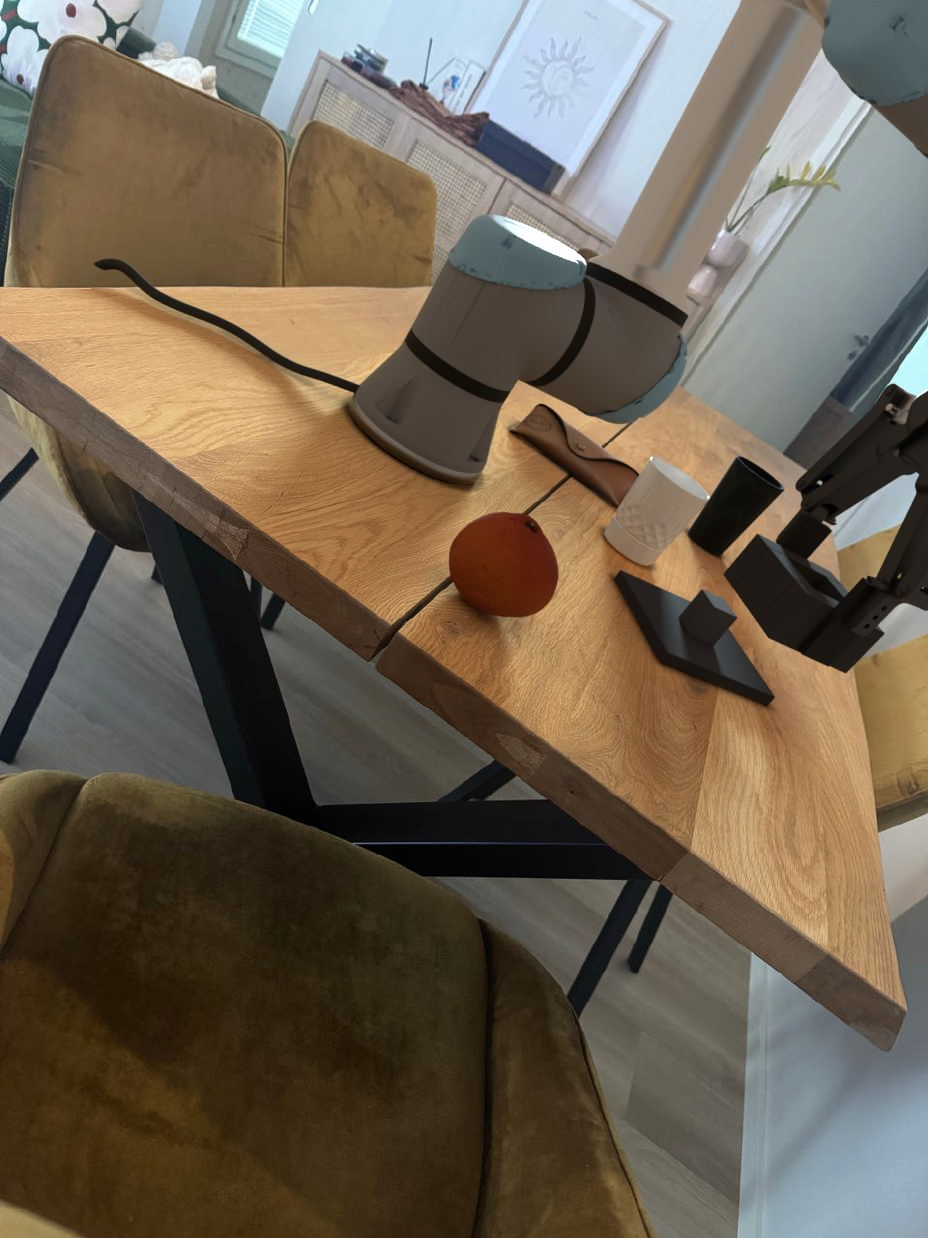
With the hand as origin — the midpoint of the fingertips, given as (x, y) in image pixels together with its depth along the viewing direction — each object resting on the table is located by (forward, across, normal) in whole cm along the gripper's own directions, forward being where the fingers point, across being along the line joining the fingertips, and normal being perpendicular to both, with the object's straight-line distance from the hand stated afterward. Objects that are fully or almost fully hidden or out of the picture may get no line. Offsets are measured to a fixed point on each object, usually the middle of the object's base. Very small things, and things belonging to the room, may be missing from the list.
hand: (785, 620), depth 67 cm
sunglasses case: (+14, +55, -7) cm, 57 cm away
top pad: (0, 0, 0) cm, 0 cm away
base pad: (+13, +18, -10) cm, 25 cm away
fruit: (+13, +9, +17) cm, 23 cm away
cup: (+13, +51, -29) cm, 60 cm away
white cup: (+13, +36, -9) cm, 39 cm away
